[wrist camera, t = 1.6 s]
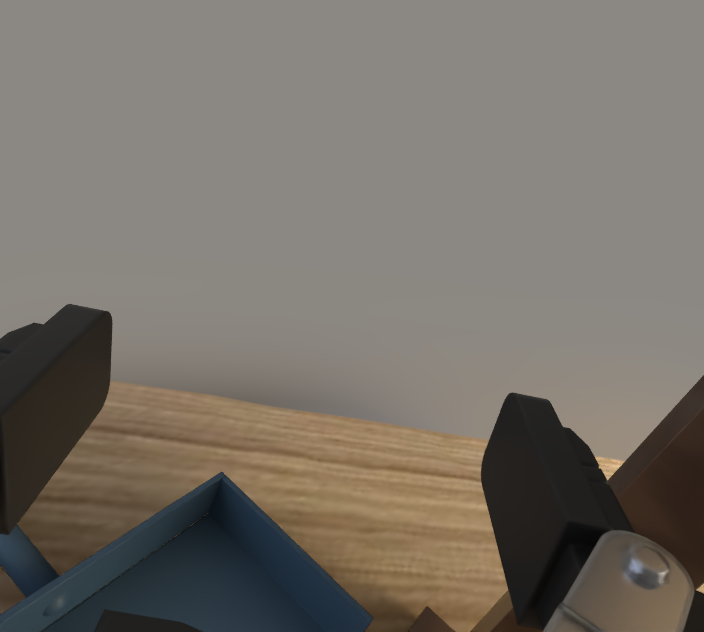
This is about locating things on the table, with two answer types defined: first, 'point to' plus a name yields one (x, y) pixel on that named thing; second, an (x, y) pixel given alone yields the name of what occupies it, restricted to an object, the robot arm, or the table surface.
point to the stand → (643, 503)
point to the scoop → (185, 574)
